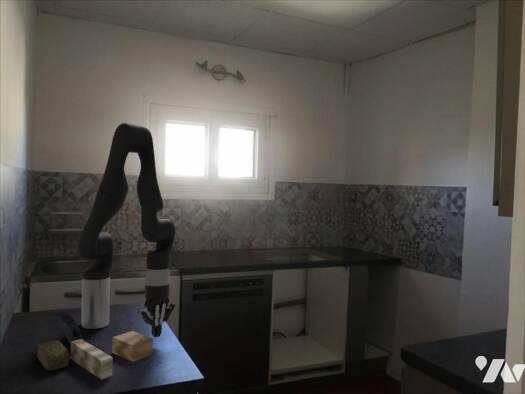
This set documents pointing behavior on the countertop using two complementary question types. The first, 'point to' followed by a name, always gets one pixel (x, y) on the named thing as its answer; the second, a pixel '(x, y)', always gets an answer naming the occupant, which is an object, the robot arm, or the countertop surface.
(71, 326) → the stone
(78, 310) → the countertop surface
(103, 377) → the board
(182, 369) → the countertop surface
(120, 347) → the oak block
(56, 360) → the stone block
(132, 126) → the robot arm
